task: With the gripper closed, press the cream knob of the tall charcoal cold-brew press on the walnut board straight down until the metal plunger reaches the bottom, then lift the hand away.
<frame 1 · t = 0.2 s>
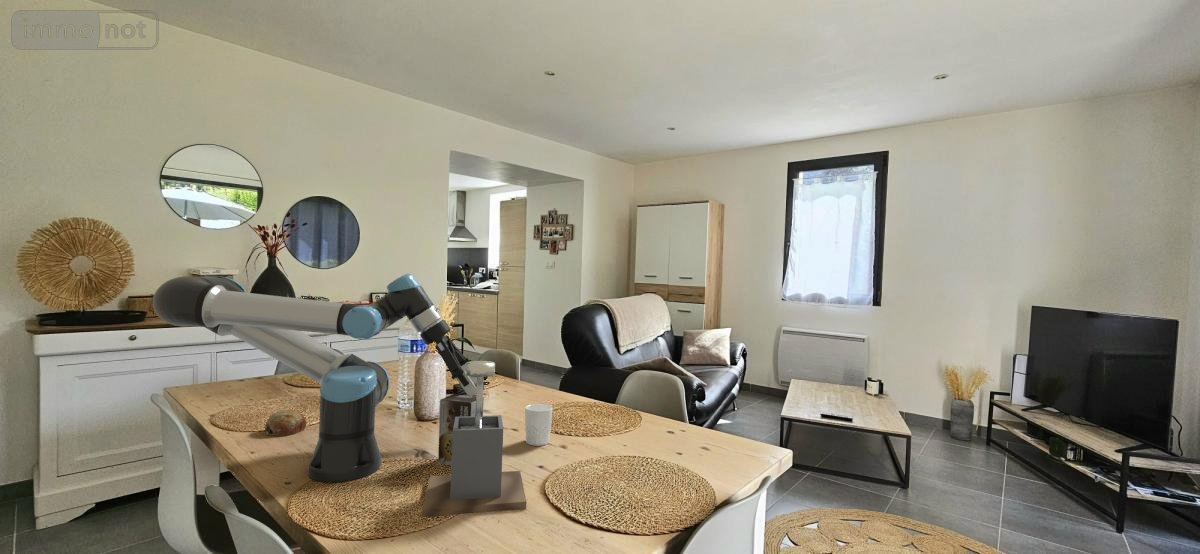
hand: (475, 388, 133), 16 cm above the table, tool tilted 35°, fingers open, 13 cm apart
coffee box: (459, 462, 120), on the table
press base: (475, 495, 102), on the table
brown rounded lump: (286, 431, 139), on the table
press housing: (477, 455, 102), on the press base, point 8 cm above the table
white cup: (537, 442, 137), on the table
plunger: (479, 398, 102), point 21 cm above the table, slide at 0.0 cm
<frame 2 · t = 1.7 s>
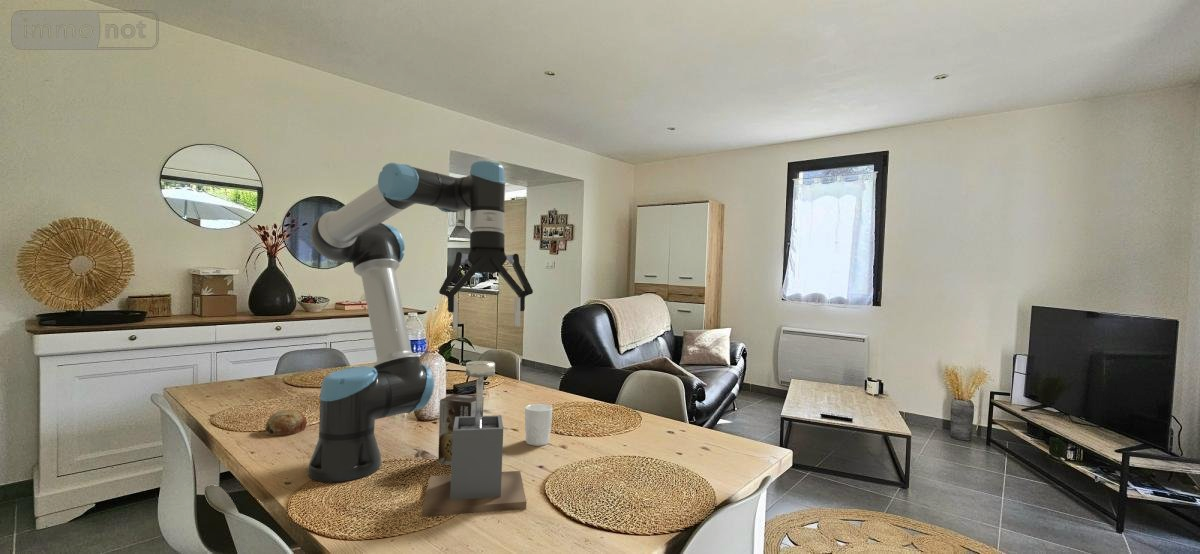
hand: (487, 327, 106), 36 cm above the table, tool pointing down, fingers open, 13 cm apart
nothing on the table moved.
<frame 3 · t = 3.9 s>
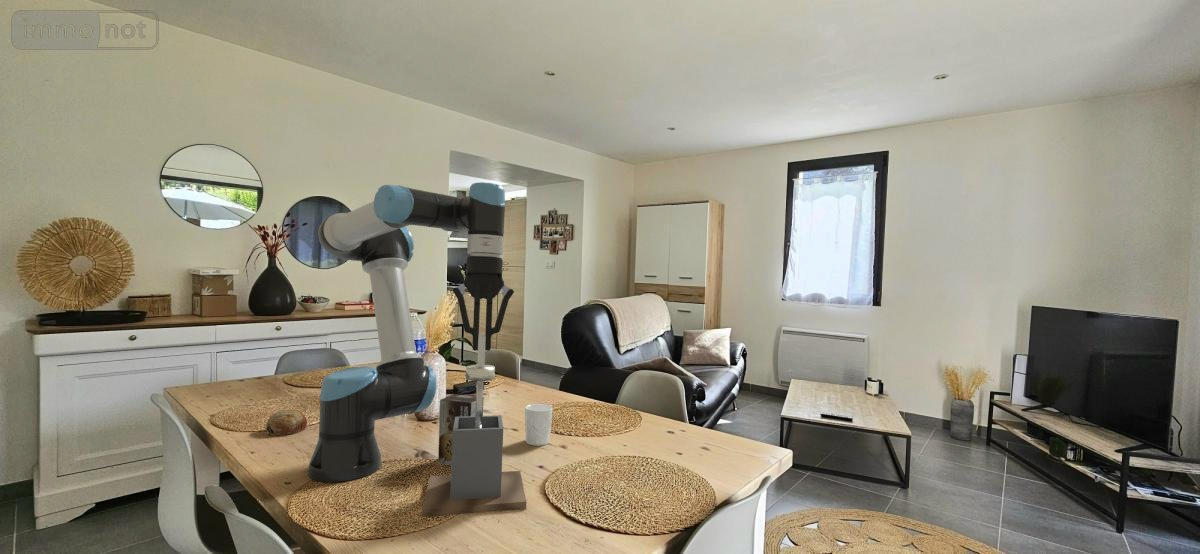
hand: (480, 365, 102), 28 cm above the table, tool pointing down, fingers closed
plunger: (479, 402, 102), point 20 cm above the table, slide at -0.8 cm, touching gripper
everything else where it was.
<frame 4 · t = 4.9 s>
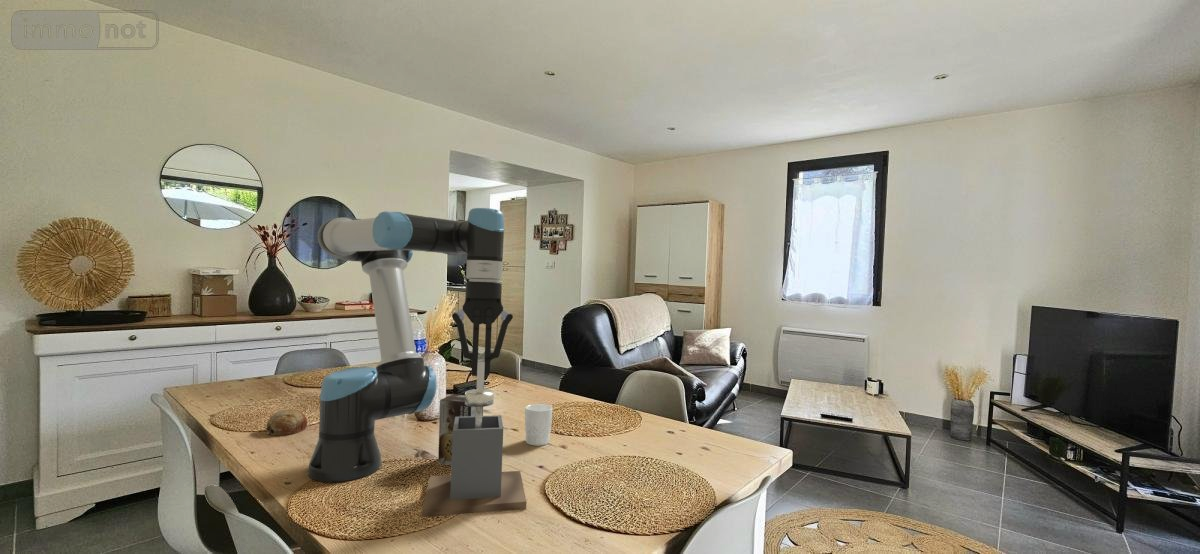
hand: (480, 390, 102), 22 cm above the table, tool pointing down, fingers closed
plunger: (478, 427, 102), point 14 cm above the table, slide at -6.2 cm, touching gripper
everything else where it was.
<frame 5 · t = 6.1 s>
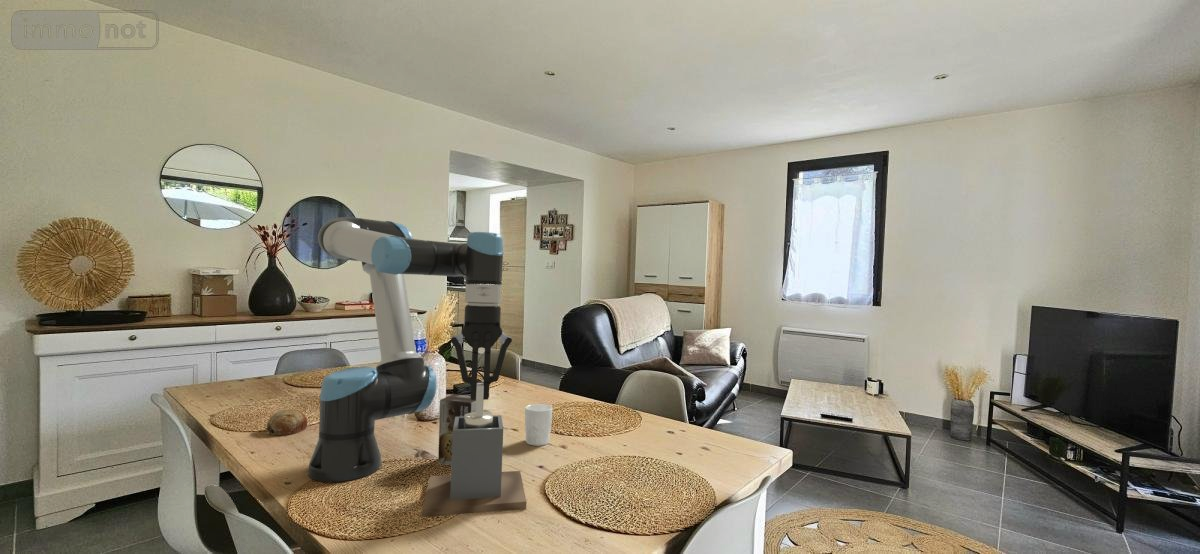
hand: (479, 414, 102), 17 cm above the table, tool pointing down, fingers closed
plunger: (477, 451, 102), point 9 cm above the table, slide at -11.2 cm, touching gripper
everything else where it was.
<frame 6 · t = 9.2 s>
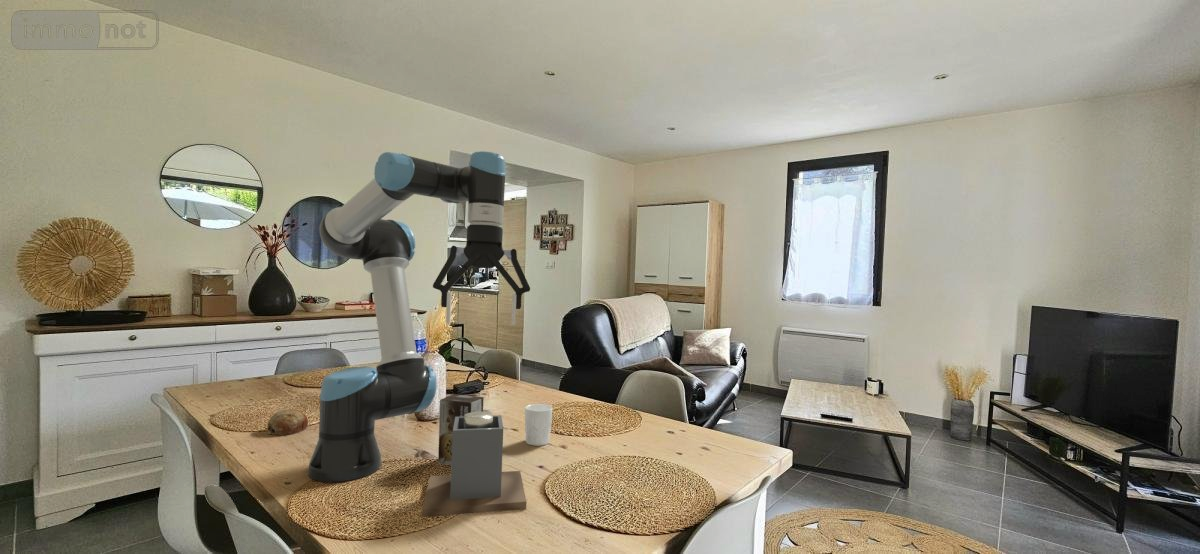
hand: (481, 323, 103), 37 cm above the table, tool pointing down, fingers open, 13 cm apart
plunger: (477, 451, 102), point 9 cm above the table, slide at -11.2 cm
everything else where it was.
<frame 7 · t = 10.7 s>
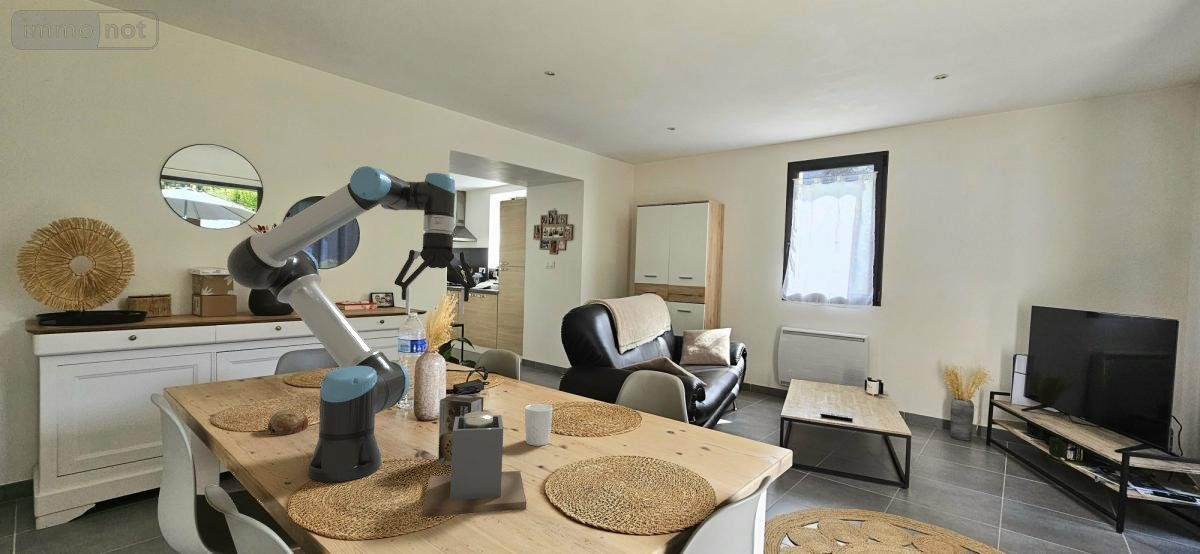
hand: (435, 313, 125), 37 cm above the table, tool pointing down, fingers open, 13 cm apart
nothing on the table moved.
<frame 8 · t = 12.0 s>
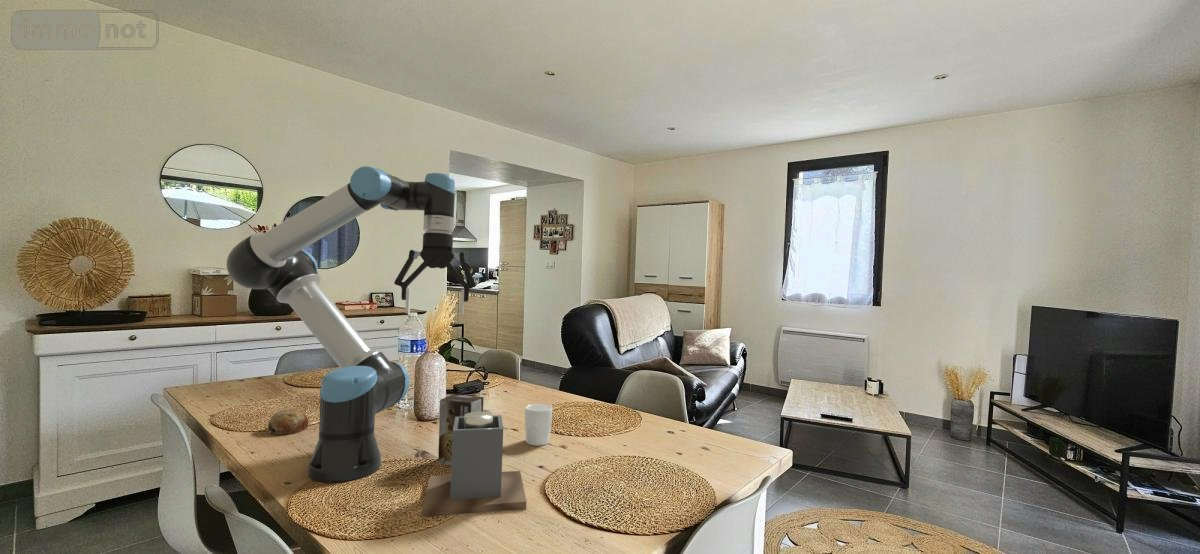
hand: (435, 313, 125), 37 cm above the table, tool pointing down, fingers open, 13 cm apart
at the end: plunger slide at -11.2 cm; the gripper is holding nothing; coffee box moved 0.2 cm from its start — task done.
